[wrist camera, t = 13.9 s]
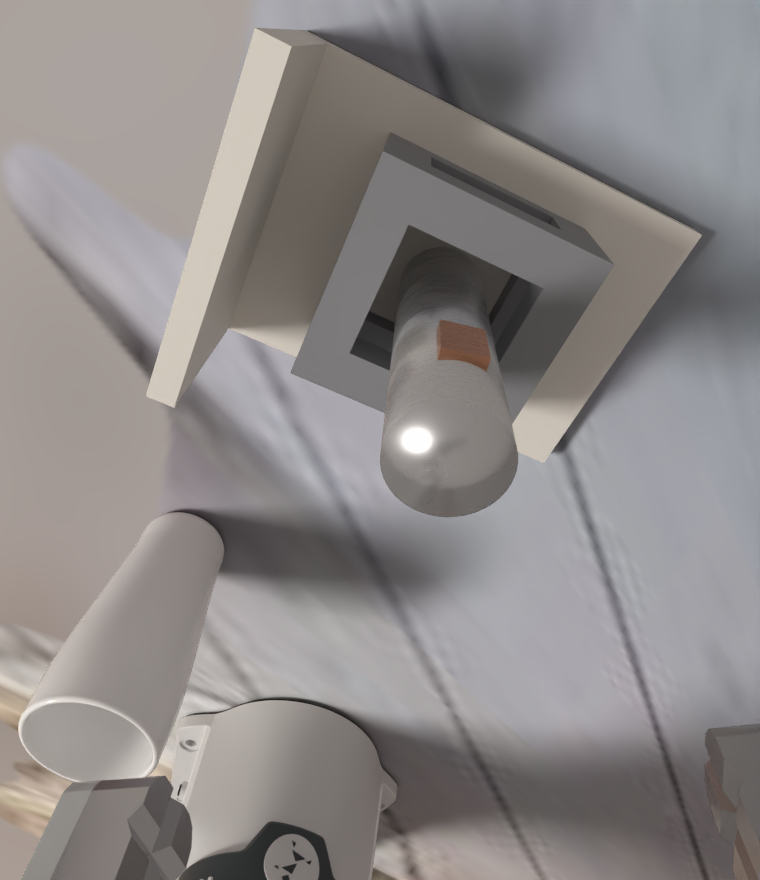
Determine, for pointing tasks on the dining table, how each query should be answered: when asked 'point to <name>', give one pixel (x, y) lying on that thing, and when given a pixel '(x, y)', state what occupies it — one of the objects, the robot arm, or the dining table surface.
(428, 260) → the tube
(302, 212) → the stand
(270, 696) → the dining table surface
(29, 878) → the robot arm
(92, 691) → the drinking glass
